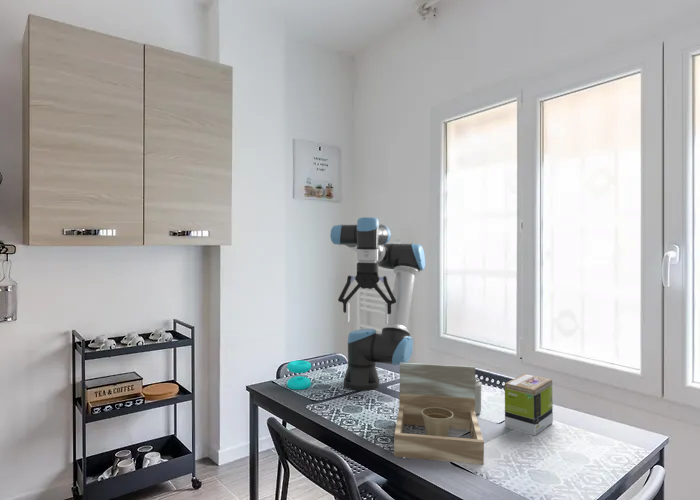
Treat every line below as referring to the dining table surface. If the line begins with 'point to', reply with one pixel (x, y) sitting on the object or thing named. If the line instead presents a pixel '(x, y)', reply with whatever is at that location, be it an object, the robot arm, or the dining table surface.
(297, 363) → the donuts
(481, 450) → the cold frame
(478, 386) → the can
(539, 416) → the tea box
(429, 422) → the flower pot
